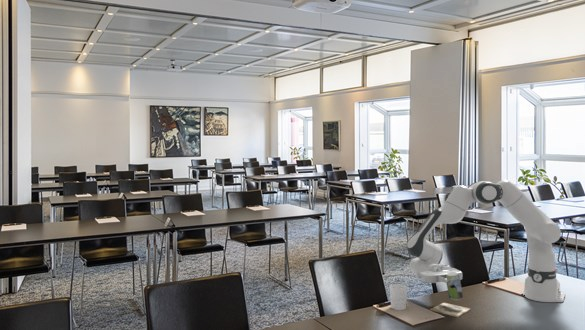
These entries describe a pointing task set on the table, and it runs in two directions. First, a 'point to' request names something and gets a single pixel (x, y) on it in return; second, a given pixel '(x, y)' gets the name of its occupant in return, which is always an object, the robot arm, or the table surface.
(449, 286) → the beverage can
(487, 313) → the table surface
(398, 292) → the white cup
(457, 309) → the birch mat
